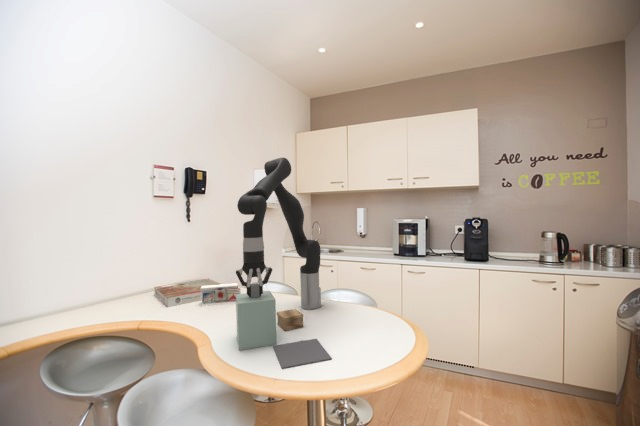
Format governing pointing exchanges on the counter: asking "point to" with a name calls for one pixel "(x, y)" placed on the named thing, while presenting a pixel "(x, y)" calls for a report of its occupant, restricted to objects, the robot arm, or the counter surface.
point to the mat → (300, 353)
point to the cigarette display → (219, 294)
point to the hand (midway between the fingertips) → (254, 295)
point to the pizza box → (182, 292)
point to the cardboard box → (290, 319)
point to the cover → (255, 319)
